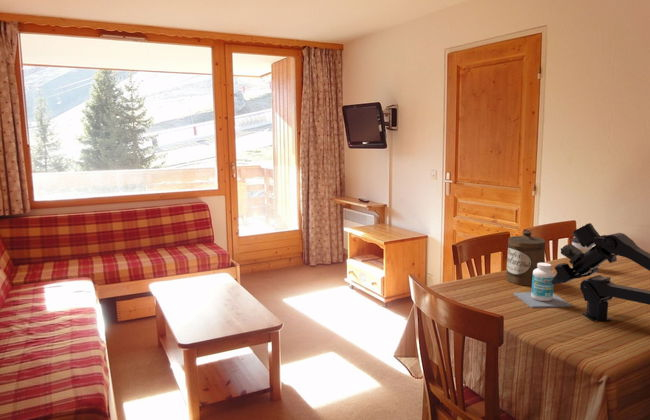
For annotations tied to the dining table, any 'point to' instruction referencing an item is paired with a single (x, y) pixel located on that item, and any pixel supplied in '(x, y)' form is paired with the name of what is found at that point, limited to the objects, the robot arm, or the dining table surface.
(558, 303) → the slate mat
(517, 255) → the labeled lidded canister
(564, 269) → the robot arm
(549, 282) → the pill bottle
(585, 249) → the coffee cup
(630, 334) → the dining table surface
